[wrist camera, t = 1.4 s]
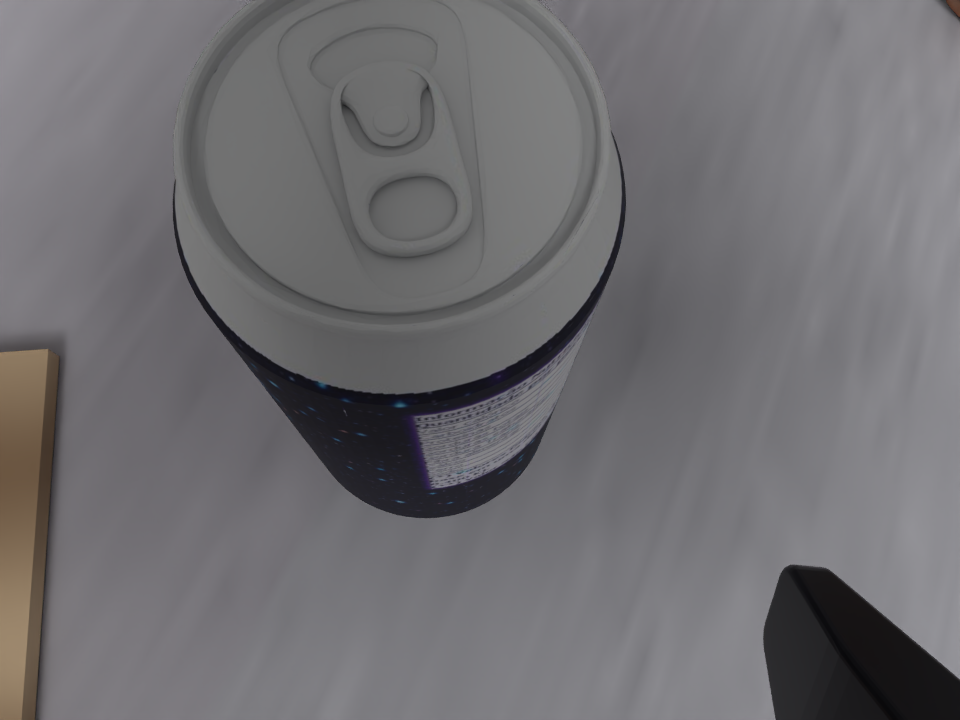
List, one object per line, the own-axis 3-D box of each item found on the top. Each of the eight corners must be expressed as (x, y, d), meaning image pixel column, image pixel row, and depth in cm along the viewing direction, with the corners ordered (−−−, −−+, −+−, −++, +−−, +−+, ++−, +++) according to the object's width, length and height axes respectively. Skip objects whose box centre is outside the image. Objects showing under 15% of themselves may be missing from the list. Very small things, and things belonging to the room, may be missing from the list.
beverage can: (511, 277, 22) (568, -109, 11) (571, 491, 20) (717, 303, 9) (294, 326, 21) (106, -28, 10) (337, 549, 20) (171, 428, 8)
